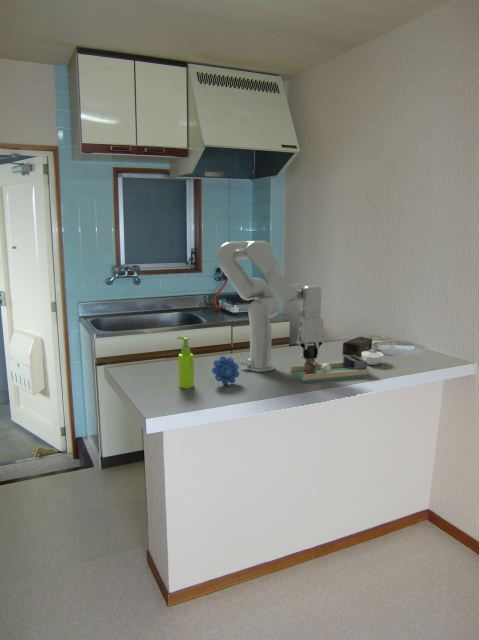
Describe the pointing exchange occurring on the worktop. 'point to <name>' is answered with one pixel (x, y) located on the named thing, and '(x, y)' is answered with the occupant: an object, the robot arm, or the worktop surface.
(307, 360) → the kicker
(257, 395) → the worktop surface
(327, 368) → the ball
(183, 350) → the soap dispenser
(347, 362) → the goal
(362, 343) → the beverage carton
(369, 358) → the cell model
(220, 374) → the blue knobbed wheel
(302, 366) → the pitch
